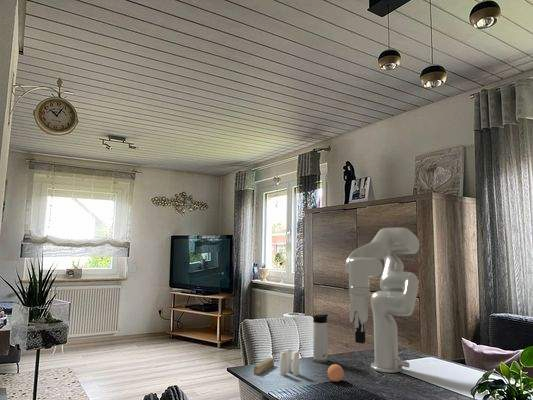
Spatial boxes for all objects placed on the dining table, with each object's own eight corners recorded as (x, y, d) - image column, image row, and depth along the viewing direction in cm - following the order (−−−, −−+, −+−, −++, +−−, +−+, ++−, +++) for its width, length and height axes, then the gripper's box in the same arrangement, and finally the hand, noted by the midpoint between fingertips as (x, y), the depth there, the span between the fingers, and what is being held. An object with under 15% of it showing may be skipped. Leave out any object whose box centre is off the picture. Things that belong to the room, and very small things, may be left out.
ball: (345, 380, 149) (345, 363, 150) (341, 384, 144) (341, 367, 145) (330, 377, 152) (330, 361, 153) (325, 382, 146) (325, 365, 147)
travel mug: (327, 363, 172) (327, 315, 174) (312, 362, 173) (312, 315, 175) (328, 359, 178) (328, 313, 180) (313, 358, 179) (313, 313, 182)
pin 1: (287, 374, 155) (287, 352, 156) (284, 376, 153) (285, 353, 154) (281, 373, 156) (282, 351, 157) (279, 375, 154) (279, 352, 155)
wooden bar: (273, 365, 167) (273, 358, 167) (258, 374, 154) (258, 366, 155) (269, 365, 168) (269, 357, 168) (253, 374, 155) (253, 366, 156)
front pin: (300, 374, 155) (300, 352, 157) (297, 376, 153) (297, 353, 154) (294, 373, 157) (294, 351, 158) (292, 375, 154) (292, 352, 155)
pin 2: (292, 371, 160) (292, 349, 161) (290, 372, 157) (290, 350, 159) (286, 370, 161) (287, 348, 162) (284, 371, 159) (284, 349, 160)
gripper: (354, 289, 156) (355, 337, 154) (344, 292, 143) (344, 345, 140) (373, 290, 153) (374, 339, 151) (364, 294, 139) (366, 348, 137)
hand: (360, 342), depth 146 cm, fingers closed
